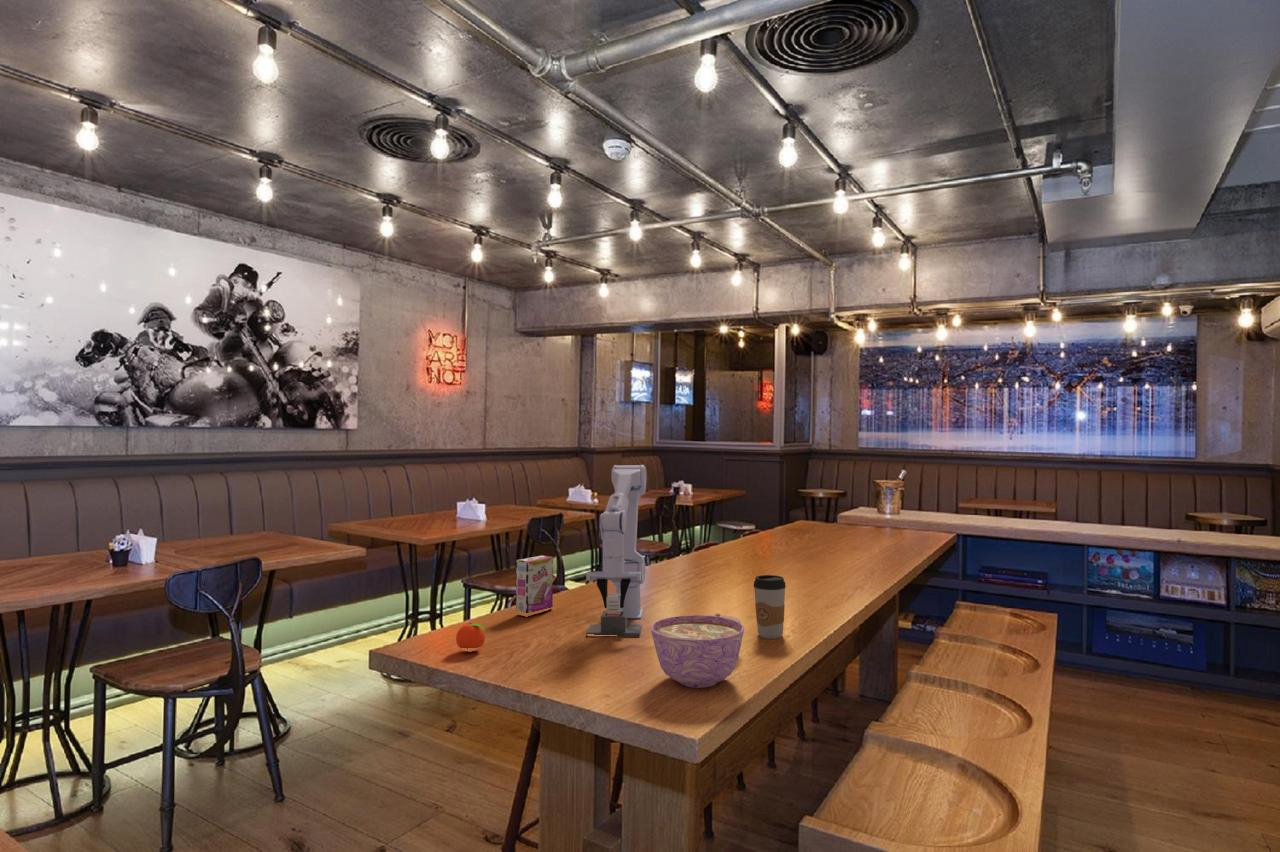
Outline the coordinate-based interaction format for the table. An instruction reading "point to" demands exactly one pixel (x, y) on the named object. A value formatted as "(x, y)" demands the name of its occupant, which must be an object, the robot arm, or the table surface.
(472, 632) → the clementine
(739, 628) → the bowl of food
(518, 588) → the candy bar box
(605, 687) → the table surface
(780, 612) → the coffee cup
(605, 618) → the jack housing
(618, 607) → the block
